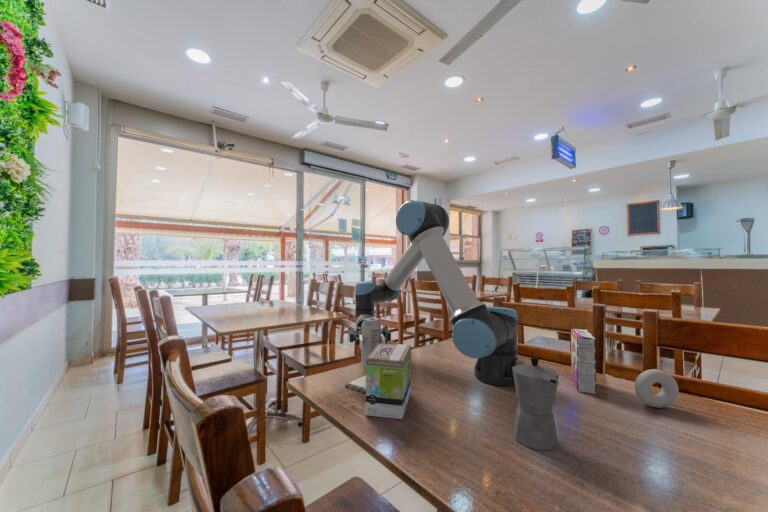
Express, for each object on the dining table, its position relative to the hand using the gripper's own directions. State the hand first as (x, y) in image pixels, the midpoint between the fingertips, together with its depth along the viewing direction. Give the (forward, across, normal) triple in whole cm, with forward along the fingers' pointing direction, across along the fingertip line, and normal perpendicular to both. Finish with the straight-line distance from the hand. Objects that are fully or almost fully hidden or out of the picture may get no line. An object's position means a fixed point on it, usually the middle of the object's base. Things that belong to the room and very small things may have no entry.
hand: (372, 344), depth 96 cm
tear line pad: (-4, 0, -14) cm, 14 cm away
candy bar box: (+6, -64, -14) cm, 66 cm away
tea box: (+10, -4, -14) cm, 17 cm away
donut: (+21, -73, -13) cm, 77 cm away
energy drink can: (-5, 0, -9) cm, 10 cm away
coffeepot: (+29, -33, -14) cm, 46 cm away
